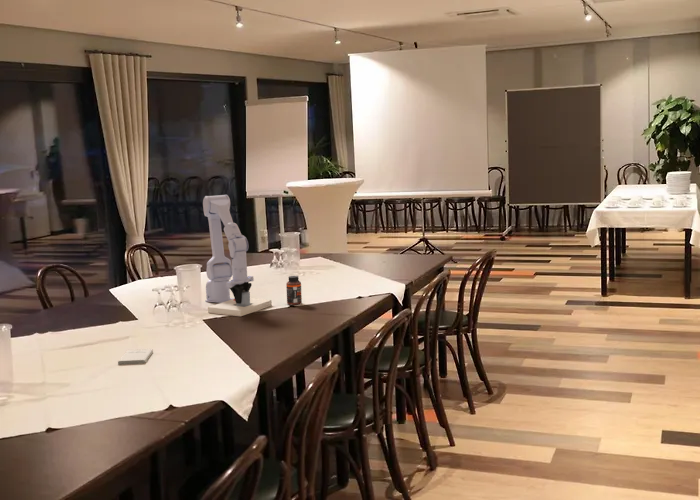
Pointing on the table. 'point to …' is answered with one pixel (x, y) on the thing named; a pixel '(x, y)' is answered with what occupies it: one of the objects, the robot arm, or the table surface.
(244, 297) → the plug
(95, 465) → the table surface
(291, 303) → the supplement bottle
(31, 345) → the table surface
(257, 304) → the socket plate
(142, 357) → the external hard drive
